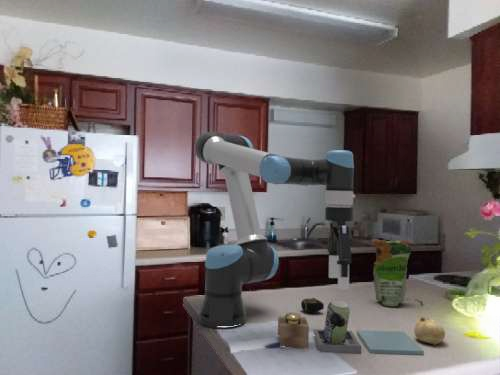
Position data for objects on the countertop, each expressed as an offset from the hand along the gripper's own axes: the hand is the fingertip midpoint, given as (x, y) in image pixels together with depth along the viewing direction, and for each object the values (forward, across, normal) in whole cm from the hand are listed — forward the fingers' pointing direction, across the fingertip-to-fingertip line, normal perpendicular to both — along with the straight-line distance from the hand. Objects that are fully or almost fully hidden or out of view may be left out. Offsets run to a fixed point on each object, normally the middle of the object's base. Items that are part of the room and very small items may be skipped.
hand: (338, 283), depth 107 cm
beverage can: (+17, 0, 0) cm, 17 cm away
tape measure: (+17, +28, 0) cm, 33 cm away
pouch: (+17, +42, -28) cm, 54 cm away
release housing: (+17, 0, +12) cm, 21 cm away
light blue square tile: (+17, +2, -15) cm, 23 cm away
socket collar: (+17, 0, 0) cm, 17 cm away
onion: (+18, +5, -27) cm, 33 cm away
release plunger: (+17, 0, +12) cm, 21 cm away
